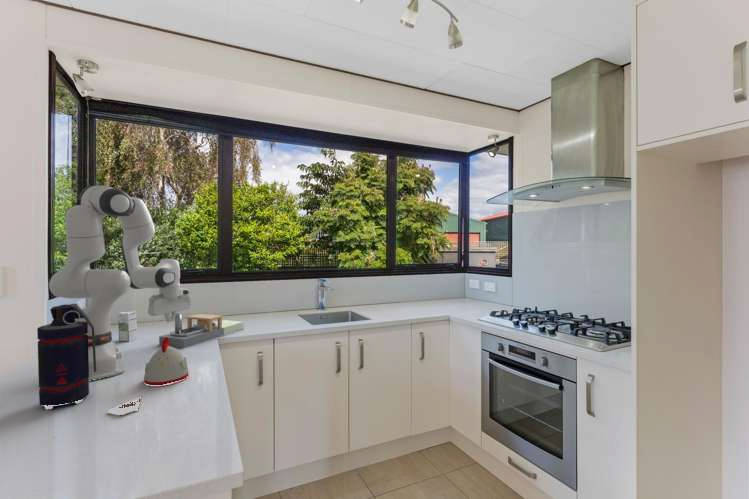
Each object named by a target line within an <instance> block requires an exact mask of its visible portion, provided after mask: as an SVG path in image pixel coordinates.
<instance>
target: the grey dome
mask: <svg viewBox="0 0 749 499" xmlns="http://www.w3.org/2000/svg"><path fill="white" fill-rule="evenodd" d="M170 343H171V341H169V339H168V337H166V338H165V339H164V340H163V345H160V346H161V347H160V348H158V350H157V351H156V352H155V353H154V354H152V356H151V358H150V359H149V361H148V362H146V363H145V368H144V376H143V383H144V382H145V383H146V384H149V385H163V384H167V383H171V382H175V381H179V380H182V379H184V378H186V377H187V376H188V377H189V368H188V361H187V357H185V356H183V354H182V353H181V352H180V351H179V350H178V349H177V348H176V347H173V346H170Z"/></svg>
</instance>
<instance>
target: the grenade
mask: <svg viewBox="0 0 749 499" xmlns="http://www.w3.org/2000/svg"><path fill="white" fill-rule="evenodd" d="M82 309H83V308H81V307H80V306H79V305H78V303H71V304H60V305H57V306H52V307H51V308H50V309H49V311H50V314H51V317H52V319H53V320H51V323H48V324H45V325H41V326H39V327H37V329H36V330H37V340H38V341H37V361H38V362H37V365H38V366H37V367H38V368H37V369H38V371H37V372H38V388H39V389H38V399H39V401H38V402H39V403H38V404H39V406H41V405H47V406H48V405H59V404H65V403H71V404H73V403H72V402H75V401H78V400H81V399H83V398H84V399H85V398H86V397H88V396H89V394H90V381H89V380H88V378H89V358H88V335H87V333H88V324H89V326H90V327H91V329H92V346H93V364H94V372H96V353H95V335H94V325H93V324H92V322H91V321H90V319H89V318H88V317H87V315H86V314H85V313H84V312H83V311H82ZM80 318H85V320H86V321H87V322H84V321H79V319H80ZM75 319H78V320H77V321H75Z"/></svg>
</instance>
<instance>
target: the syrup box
mask: <svg viewBox="0 0 749 499" xmlns="http://www.w3.org/2000/svg"><path fill="white" fill-rule="evenodd" d="M117 315H118V316H117V320H118V322H117V323H118V342H133V341H134V340H135V341H136V340H137V339H138V329H137V323H138V321H137V311H136V310H126V311H125V310H124V311H121V312H118V314H117Z"/></svg>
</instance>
